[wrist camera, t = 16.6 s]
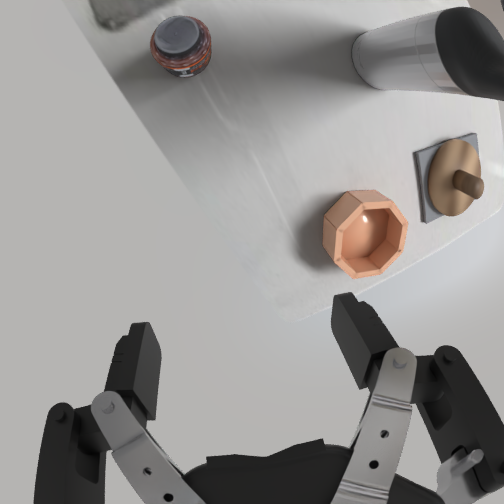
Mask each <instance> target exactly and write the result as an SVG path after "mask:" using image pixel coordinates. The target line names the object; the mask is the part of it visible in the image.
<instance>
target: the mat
mask: <svg viewBox="0 0 504 504" xmlns="http://www.w3.org/2000/svg"><path fill="white" fill-rule="evenodd" d="M456 139H460V140H463V141H466V142H468V143H470V144H471V145H472V146H473V147H474V149H475V150H476V152H477V154H478V157H479V151H478V141H477V134H476V133H471V134H468V135H465V136H462V137H459V138H456ZM444 143H445V142H444ZM444 143H441V144H438V145H435V146H432V147H429V148H426V149H423V150H420V151H417V152H416V158H417V165H418V171H419V178H420V186H421V195H422V205H423V217H424V222H425V223H426V224H427V223H429V222H431V221H433V220H435V219H437V218H439V217H441V216H443V215H444V214H442V213H441V212H439V211H438V210H437V209H436V208H435V207H434V206H433V204H432V202H431V200H430V197H429V193H428V172H429V168H430V164H431V161H432V159H433V157H434V155H435V153H436V151H437V150H438V149H439V147H440V146H441V145H442V144H444ZM474 200H475V199H474Z"/></svg>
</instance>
